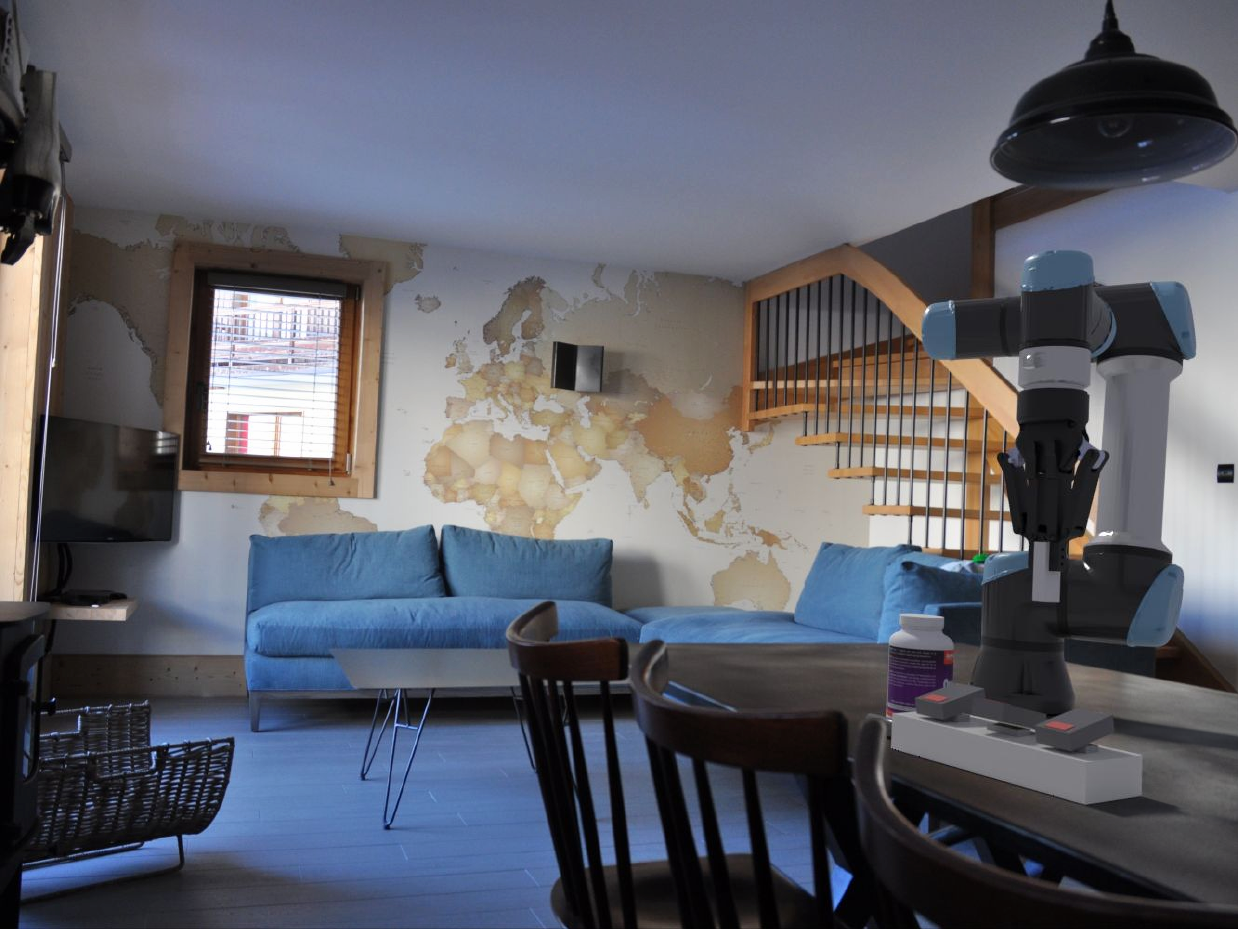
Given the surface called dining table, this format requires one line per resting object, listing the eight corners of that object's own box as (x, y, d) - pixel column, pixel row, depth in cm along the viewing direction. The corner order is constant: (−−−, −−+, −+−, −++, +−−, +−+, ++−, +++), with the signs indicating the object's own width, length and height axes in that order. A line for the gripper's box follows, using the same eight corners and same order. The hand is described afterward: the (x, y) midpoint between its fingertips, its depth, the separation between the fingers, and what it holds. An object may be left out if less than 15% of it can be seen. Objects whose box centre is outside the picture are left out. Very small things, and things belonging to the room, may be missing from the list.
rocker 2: (1012, 723, 117) (1015, 706, 117) (1043, 730, 113) (1046, 713, 114) (970, 713, 113) (974, 696, 114) (1001, 721, 110) (1004, 703, 110)
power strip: (895, 729, 133) (897, 692, 133) (1141, 795, 105) (1142, 748, 105) (842, 734, 128) (844, 695, 129) (1084, 804, 100) (1086, 754, 100)
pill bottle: (954, 738, 130) (958, 620, 130) (887, 732, 131) (891, 616, 132) (947, 726, 138) (951, 615, 138) (884, 720, 139) (888, 611, 140)
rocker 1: (958, 697, 124) (956, 682, 124) (985, 703, 120) (984, 687, 120) (916, 713, 120) (914, 697, 120) (943, 720, 117) (942, 703, 117)
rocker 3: (1079, 724, 110) (1077, 706, 110) (1114, 732, 107) (1112, 714, 107) (1036, 742, 107) (1034, 724, 106) (1071, 751, 103) (1069, 732, 103)
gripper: (983, 390, 122) (974, 595, 120) (1085, 380, 110) (1077, 606, 109) (1025, 398, 125) (1017, 597, 124) (1127, 389, 114) (1120, 607, 113)
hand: (1045, 601), depth 116 cm, fingers closed
